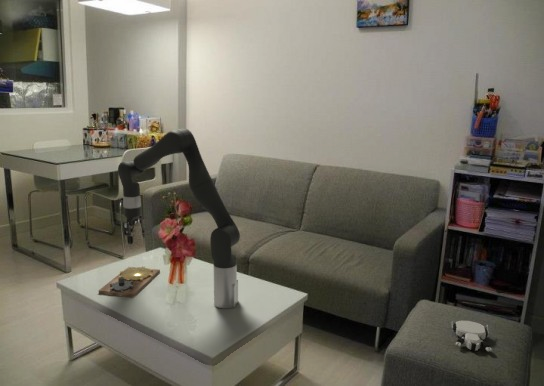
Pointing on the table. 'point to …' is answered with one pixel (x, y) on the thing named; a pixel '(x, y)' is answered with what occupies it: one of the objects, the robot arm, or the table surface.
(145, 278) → the gear board
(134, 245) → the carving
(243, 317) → the table surface
